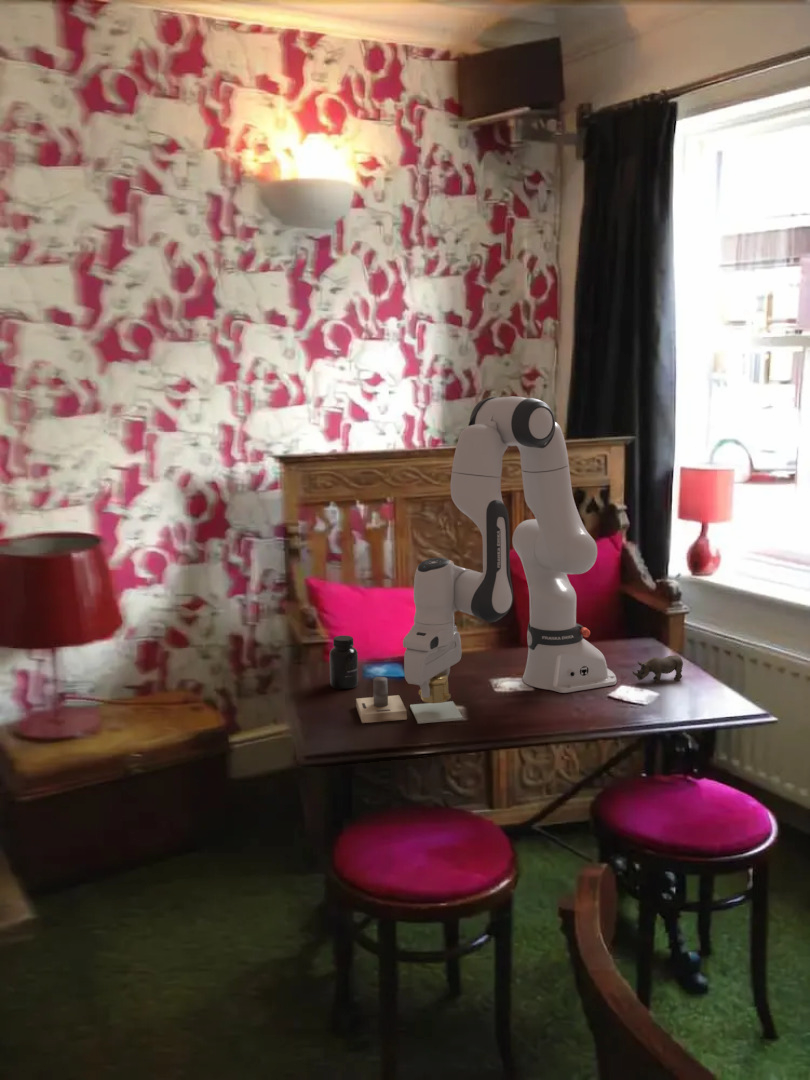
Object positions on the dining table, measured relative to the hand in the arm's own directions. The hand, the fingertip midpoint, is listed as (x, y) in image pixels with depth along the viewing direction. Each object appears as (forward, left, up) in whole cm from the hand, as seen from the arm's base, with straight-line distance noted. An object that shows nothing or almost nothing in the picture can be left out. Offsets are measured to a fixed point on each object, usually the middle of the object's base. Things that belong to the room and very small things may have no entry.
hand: (434, 691), depth 227 cm
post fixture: (+12, -3, -5) cm, 13 cm away
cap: (0, 0, -2) cm, 2 cm away
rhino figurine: (-57, -9, -6) cm, 58 cm away
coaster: (0, 0, -5) cm, 5 cm away
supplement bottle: (+18, -23, -5) cm, 30 cm away
